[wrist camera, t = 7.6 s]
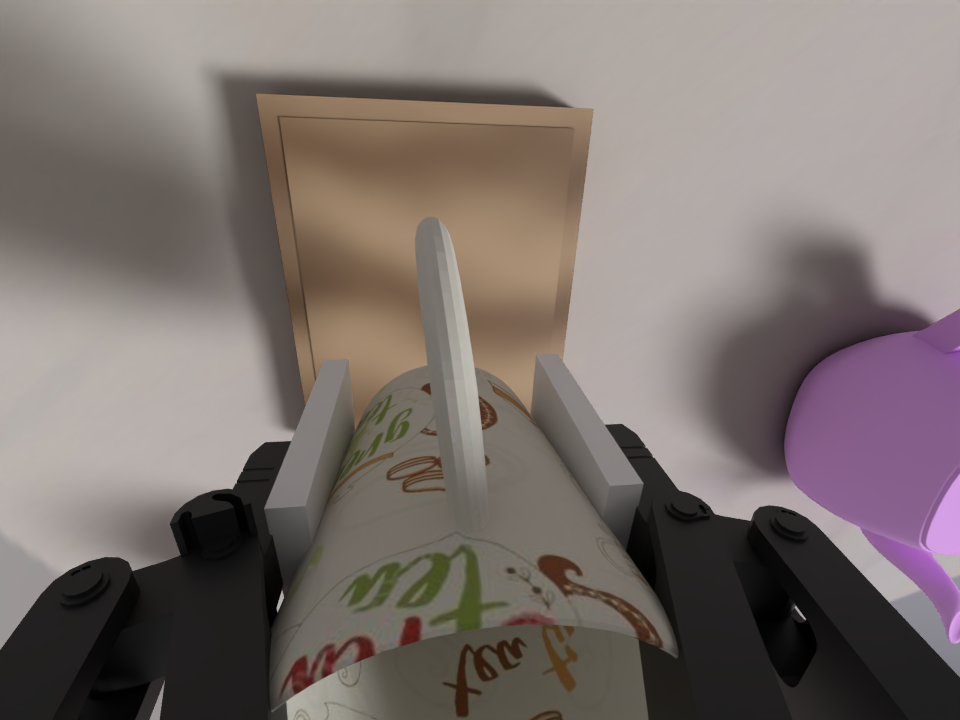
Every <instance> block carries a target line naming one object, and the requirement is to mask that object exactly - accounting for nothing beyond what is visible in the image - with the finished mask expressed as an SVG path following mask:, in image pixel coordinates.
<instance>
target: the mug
mask: <svg viewBox="0 0 960 720" xmlns="http://www.w3.org/2000/svg"><path fill="white" fill-rule="evenodd" d="M415 255H416V268H417V279H418V288H419V297H420V306H421V315H422V324H423V332H424V340H425V348H426V356H427V364H428V365H426V366H422V367H418V368H415V369H412V370H410V371H408V372H405V373H403V374H401V375H400V376H398V377H396V378H394V379H393V380H391V381H390V382H389V383H387V384H386V385H385V386H384V387H383V388H382V389H381V390H379V391H378V393H377V394H376V395H375V396H374V397H373V398H372V400H371V401H370V403H369V404H368V406H367V407H366V409H365V411H364V413H363V415H362V417H361V419H360V422H359V424H358V426H357V428H356V431H355V433H354V435H353V438H352V440H351V443H350V445H349V447H348V450H347V452H346V454H345V457H344V459H343V461H342V464H341V466H340V469H339V471H338V474H337V476H336V479H335V482H334V484H333V487H332V490H331V493H330V495H329V498H328V501H327V504H326V506H325V509H324V512H323V515H322V518H321V521H320V524H319V526H318V529H317V532H316V535H315V538H314V541H313V544H312V546H311V547H310V548H309V549H308V551H307V552H306V554H305V555H304V557H303V558H302V560H301V562H300V563H299V565H298V567H297V569H296V571H295V574H294V576H293V578H292V581H291V583H290V585H289V588H288V590H287V592H286V595H285V597H284V599H283V602H282V604H281V606H280V609H279V611H278V613H277V616H276V618H275V620H274V623H273V625H272V627H271V632H272V637H271V648H270V670H269V693H270V707H271V712H273V711H275V710H276V709H277V708H279V707H280V706H281V705H283V704H284V703H285V702H286V704H287V716H288V720H649V719H648V711H647V704H646V696H645V688H644V680H643V673H642V665H641V657H640V649H639V642H638V639H639V640H641V641H644V642H646V643H649V644H652V645H654V646H656V647H658V648H660V649H662V650H664V651H665V652H667V653H669V654H671V655H672V656H673V657H675V658H677V657H678V646H677V641H676V638H675V635H674V632H673V628H672V626H671V624H670V621H669V619H668V617H667V614H666V612H665V610H664V608H663V606H662V604H661V602H660V600H659V599H658V597H657V595H656V594H655V592H654V591H653V589H652V588H651V586H650V585H649V583H648V582H647V581H646V579H645V578H644V576H643V575H642V573H641V572H640V571H639V569H638V568H637V566H636V565H635V563H634V562H633V561H632V559H631V558H630V556H629V555H628V553H627V552H626V551H625V549H624V548H623V546H622V545H621V543H620V542H619V541H618V539H617V538H616V536H615V535H614V533H613V532H612V531H611V529H610V528H609V526H608V525H607V524H606V522H605V521H604V520H603V519H602V517H601V516H600V514H599V513H598V511H597V510H596V508H595V507H594V505H593V504H592V502H591V501H590V499H589V498H588V496H587V495H586V494H585V492H584V491H583V489H582V488H581V486H580V485H579V483H578V482H577V481H576V479H575V478H574V476H573V475H572V473H571V472H570V471H569V469H568V468H567V466H566V465H565V463H564V462H563V461H562V459H561V458H560V456H559V455H558V453H557V452H556V451H555V449H554V448H553V446H552V445H551V443H550V442H549V441H548V439H547V438H546V436H545V435H544V433H543V432H542V431H541V429H540V428H539V426H538V425H537V423H536V422H535V421H534V419H533V418H532V416H531V415H530V413H529V412H528V411H527V409H526V408H525V406H524V405H523V404H522V402H521V401H520V400H519V398H518V397H517V396H516V394H515V393H514V392H513V391H512V390H511V389H510V388H509V387H508V386H507V385H506V384H505V383H504V382H503V381H501V380H500V379H499V378H497V377H496V376H494V375H492V374H490V373H488V372H487V371H484V370H482V369H479V368H476V367H474V362H473V355H472V348H471V342H470V335H469V329H468V322H467V316H466V310H465V304H464V299H463V293H462V287H461V281H460V276H459V271H458V266H457V261H456V256H455V251H454V247H453V244H452V241H451V237H450V235H449V232H448V230H447V228H446V226H445V224H443V223H442V222H441V221H440V220H439V219H438V218H435V217H431V216H429V217H427V218H424V219H422V221H421V222H420V224H419V225H418V226H417V231H416V236H415Z"/></svg>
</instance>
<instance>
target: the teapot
mask: <svg viewBox="0 0 960 720" xmlns="http://www.w3.org/2000/svg"><path fill="white" fill-rule="evenodd" d="M784 452H785V460H786V464H787V469H788V472H789V475H790V477H791V479H792V480H793V482H794V484H795V485H796V486H797V487H798V488H799V489H800V490H801V491H802V492H803V493H805V494H806V495H807V496H808V497H809V498H810V499H812V500H813V501H815V502H816V503H818V504H819V505H820V506H822V507H823V508H825V509H827V510H828V511H830V512H832V513H833V514H835V515H837V516H839V517H840V518H842V519H844V520H846V521H848V522H850V523H852V524H855V525H857V526H859V527H860V528H861V530H862V533H863V534H864V535H865V537H866V538H867V539H868V541H869V542H870V543H871V544H872V545H873V546H874V547H875V548H876V550H877V551H878V552H879V553H881V554H882V555H883V556H884V557H885V558H886V559H887V560H888V561H890V562H891V563H892V564H893V565H894V566H896V567H897V568H898V569H899V570H901V571H902V572H903V573H904V574H905V575H906V576H908V577H909V578H910V579H911V580H912V581H913V582H914V583H915V584H916V585H917V586H918V587H919V588H920V589H921V590H923V592H924V593H925V594H926V595H927V596H928V597H929V599H930V600H931V601H932V602H933V604H934V605H935V607H936V609H937V610H938V612H939V614H940V616H941V619H942V622H943V625H944V627H945V630H946V634H947V637H948V639H949V641H950V642H951V643H953V644H955V643H958V642H960V591H959V589H958V588H957V586H956V585H955V583H954V582H953V581H952V579H951V578H950V577H949V575H948V574H947V573H946V572H945V570H944V569H943V568H942V567H941V566H940V564H939V563H938V562H937V561H936V559H935V558H934V557H933V555H932V554H931V553H935V554H948V555H959V554H960V309H959V310H957V311H955V312H953V313H952V314H950V315H948V316H946V317H945V318H943V319H941V320H939V321H938V322H936V323H934V324H932V325H931V326H929V327H927V328H925V329H923V330H922V331H912V332H903V333H897V334H891V335H886V336H881V337H876V338H873V339H869V340H866V341H863V342H860V343H857V344H854V345H852V346H849V347H847V348H844V349H842V350H840V351H838V352H836V353H834V354H832V355H830V356H828V357H827V358H825V359H824V360H822V361H821V362H820V363H819V364H817V365H816V366H815V367H814V368H813V369H812V370H811V371H810V372H809V373H808V375H807V376H806V378H805V379H804V381H803V382H802V384H801V386H800V388H799V390H798V392H797V395H796V397H795V400H794V403H793V405H792V408H791V411H790V415H789V418H788V422H787V427H786V433H785V439H784Z"/></svg>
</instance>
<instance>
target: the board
mask: <svg viewBox="0 0 960 720" xmlns="http://www.w3.org/2000/svg"><path fill="white" fill-rule="evenodd" d="M256 99H257V105H258V111H259V118H260V124H261V130H262V137H263V143H264V149H265V156H266V162H267V168H268V175H269V181H270V187H271V194H272V200H273V206H274V213H275V219H276V225H277V232H278V238H279V244H280V251H281V257H282V263H283V270H284V276H285V282H286V289H287V295H288V301H289V308H290V314H291V320H292V327H293V333H294V339H295V346H296V352H297V358H298V365H299V371H300V377H301V384H302V390H303V396H304V403H305V406H306V404H307V401H308V399H309V396H310V394H311V391H312V389H313V386H314V384H315V381H316V379H317V377H318V374H319V372H320V369H321V367H322V364H323V362H324V360H343V359H349V368H350V378H351V388H352V397H353V407H354V417H355V426H356V428H357V426H358V424H359V422H360V419H361V417H362V415H363V413H364V411H365V409H366V407H367V406H368V404H369V403H370V401H371V400H372V398H373V397H374V396H375V395H376V394H377V393H378V391H379V390H381V389H382V388H383V387H384V386H385V385H386V384H387V383H389V382H390V381H391V380H393V379H394V378H396V377H398V376H400V375H401V374H403V373H405V372H408V371H410V370H412V369H415V368H418V367H422V366H426V365H428V364H427V356H426V348H425V340H424V332H423V324H422V315H421V306H420V297H419V288H418V279H417V268H416V255H415V236H416V231H417V226H418V225H419V224H420V222H421V221H422V219H424V218H427V217H429V216H431V217H435V218H438V219H439V220H440V221H441V222H442V223H443V224H445V226H446V228H447V230H448V232H449V235H450V237H451V241H452V244H453V247H454V251H455V256H456V261H457V266H458V271H459V276H460V281H461V287H462V293H463V299H464V304H465V310H466V316H467V322H468V329H469V335H470V342H471V348H472V355H473V362H474V367H476V368H479V369H482V370H484V371H487V372H488V373H490V374H492V375H494V376H496V377H497V378H499V379H500V380H501V381H503V382H504V383H505V384H506V385H507V386H508V387H509V388H510V389H511V390H512V391H513V392H514V393H515V394H516V396H517V397H518V398H519V400H520V401H521V402H522V404H523V405H524V406H525V408H526V409H527V411H528V412H529V413H530V412H531V402H532V391H533V380H534V369H535V359H536V354H558V355H559V357H560V358H561V360H562V361H563V353H564V345H565V337H566V329H567V321H568V313H569V304H570V296H571V288H572V280H573V272H574V264H575V256H576V248H577V240H578V231H579V223H580V215H581V207H582V199H583V191H584V183H585V175H586V167H587V158H588V150H589V142H590V134H591V126H592V118H593V110H594V109H588V108H565V107H543V106H521V105H499V104H477V103H454V102H432V101H410V100H388V99H366V98H344V97H321V96H299V95H277V94H256Z"/></svg>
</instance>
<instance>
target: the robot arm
mask: <svg viewBox="0 0 960 720" xmlns="http://www.w3.org/2000/svg"><path fill="white" fill-rule="evenodd" d="M530 415H531V416H532V418H533V419H534V421H535V422H536V423H537V425H538V426H539V428H540V429H541V431H542V432H543V433H544V435H545V436H546V438H547V439H548V441H549V442H550V443H551V445H552V446H553V448H554V449H555V451H556V452H557V453H558V455H559V456H560V458H561V459H562V461H563V462H564V463H565V465H566V466H567V468H568V469H569V471H570V472H571V473H572V475H573V476H574V478H575V479H576V481H577V482H578V483H579V485H580V486H581V488H582V489H583V491H584V492H585V494H586V495H587V496H588V498H589V499H590V501H591V502H592V504H593V505H594V507H595V508H596V510H597V511H598V513H599V514H600V516H601V517H602V519H603V520H604V521H605V522H606V524H607V525H608V526H609V528H610V529H611V531H612V532H613V533H614V535H615V536H616V538H617V539H618V541H619V542H620V543H621V545H622V546H623V548H624V549H625V551H626V552H627V553H628V555H629V556H630V558H631V559H632V561H633V562H634V563H635V565H636V566H637V568H638V569H639V571H640V572H641V573H642V575H643V576H644V578H645V579H646V581H647V582H648V583H649V585H650V586H651V588H652V589H653V591H654V592H655V594H656V595H657V597H658V599H659V600H660V602H661V604H662V606H663V608H664V610H665V612H666V614H667V617H668V619H669V621H670V624H671V626H672V628H673V632H674V635H675V638H676V641H677V646H678V657H677V658H675V657H673V656H672V655H671V654H669V653H667V652H665V651H664V650H662V649H660V648H658V647H656V646H654V645H652V644H649V643H646V642H644V641H641V640H639V639H638V642H639V649H640V657H641V665H642V673H643V680H644V688H645V696H646V704H647V711H648V719H649V720H960V677H959V676H958V675H957V674H956V673H955V672H954V671H953V670H952V669H951V668H950V667H949V666H948V665H947V663H946V662H945V661H944V660H943V659H942V658H941V657H940V656H939V655H938V654H937V653H936V652H935V651H934V650H933V649H932V648H931V647H930V645H928V643H927V642H926V641H925V640H924V639H923V638H922V637H921V636H920V635H919V634H918V633H917V632H916V631H915V630H914V629H913V627H911V625H910V624H909V623H908V622H907V621H906V620H905V619H904V618H903V617H902V616H901V615H900V614H899V613H898V611H897V610H896V609H895V608H894V607H893V606H892V605H891V604H890V603H889V602H888V601H887V600H886V599H885V598H884V597H883V596H882V595H881V593H880V592H879V591H878V590H877V589H876V588H875V587H874V586H873V585H872V584H871V583H870V582H869V581H868V580H867V579H866V578H865V576H864V575H863V574H862V573H861V572H860V571H859V570H858V569H857V568H856V567H855V566H854V565H853V564H852V563H851V562H850V561H849V560H848V558H847V557H846V556H845V555H844V554H843V553H842V552H841V551H840V550H839V549H838V548H837V547H836V546H835V545H834V544H833V543H832V542H831V540H830V539H829V538H828V537H827V536H826V535H825V534H824V533H823V532H822V531H821V530H820V529H819V528H818V527H817V526H816V525H815V524H814V523H812V522H811V521H810V520H809V519H808V518H806V517H804V516H802V515H800V514H798V513H797V512H795V511H792V510H789V509H786V508H783V507H778V506H764V507H759V508H758V509H757V510H756V511H755V512H754V514H753V517H752V519H751V521H747V520H742V519H736V518H730V517H724V516H720V515H716V514H714V513H713V511H712V510H711V508H710V506H708V505H707V504H706V503H705V502H704V501H702V500H701V499H700V498H698V497H696V496H694V495H692V494H690V493H686V492H682V491H679V490H678V489H677V487H676V486H675V485H674V483H673V482H672V481H671V479H670V478H669V477H668V475H667V474H666V473H665V471H664V470H663V469H662V467H661V466H660V465H659V463H658V462H657V461H656V459H655V458H653V457H652V456H653V455H652V454H651V453H650V451H649V450H648V449H647V448H645V445H644V443H643V442H642V441H641V439H640V438H639V437H638V435H637V434H636V433H634V432H633V431H631V430H630V429H628V428H627V427H626V426H624V425H623V424H611V425H604V423H603V422H602V420H601V419H600V417H599V416H598V414H597V413H596V411H595V409H594V408H593V406H592V405H591V403H590V402H589V400H588V399H587V397H586V396H585V394H584V393H583V391H582V390H581V388H580V387H579V385H578V384H577V382H576V381H575V379H574V378H573V376H572V375H571V373H570V372H569V370H568V369H567V367H566V366H565V364H564V363H563V361H562V360H561V358H560V357H559V355H558V354H536V359H535V369H534V380H533V391H532V402H531V412H530ZM355 431H356V426H355V417H354V407H353V397H352V388H351V378H350V368H349V359H343V360H324V362H323V364H322V367H321V369H320V372H319V374H318V377H317V379H316V381H315V384H314V386H313V389H312V391H311V394H310V396H309V399H308V401H307V404H306V406H305V409H304V411H303V414H302V416H301V419H300V421H299V424H298V426H297V429H296V431H295V434H294V436H293V438H292V441H285V442H265V443H264V444H263V445H261V446H260V447H259V448H258V449H257V450H256V451H254V452H253V453H252V454H251V455H250V457H249V459H248V461H247V462H246V464H245V466H244V468H243V472H241V474H240V476H239V478H238V480H237V484H235V486H234V488H233V490H232V489H223V490H215V491H211V492H208V493H205V494H202V495H200V496H197V497H196V498H194V499H192V500H191V501H189V502H187V503H186V504H184V505H183V506H182V507H181V508H180V509H179V510H178V511H177V512H176V513H175V514H174V516H173V519H172V521H171V523H170V526H171V528H172V531H173V534H174V537H175V540H176V543H177V546H178V548H179V551H180V554H181V555H180V556H178V557H175V558H173V559H170V560H167V561H164V562H161V563H158V564H155V565H151V566H148V567H145V568H142V569H138V570H135V571H132V569H131V567H130V565H129V562H127V561H125V560H123V559H121V558H116V557H104V558H100V559H96V560H92V561H88V562H86V563H84V564H82V565H79V566H77V567H75V568H73V569H71V570H69V571H68V572H66V573H65V574H63V575H62V576H60V577H59V578H57V579H56V580H55V581H53V582H52V583H51V584H50V585H49V587H48V588H47V589H46V590H45V591H44V592H43V593H42V594H41V595H40V596H39V598H38V599H37V601H36V602H35V604H34V605H33V606H32V607H31V609H30V610H29V611H28V613H27V614H26V616H25V617H24V618H23V620H22V621H21V622H20V624H19V625H18V627H17V628H16V629H15V631H14V632H13V633H12V635H11V636H10V637H9V639H8V640H7V642H6V643H5V645H4V646H3V647H2V649H1V650H0V720H149V719H150V717H151V714H152V711H153V709H154V706H155V704H156V701H157V699H158V696H159V693H160V691H161V688H162V686H163V683H164V681H165V685H164V693H163V699H162V707H161V715H160V720H288V716H287V704H286V702H285V703H284V704H283V705H281V706H280V707H279V708H277V709H276V710H275V711H273V712H271V707H270V693H269V670H270V648H271V637H272V632H271V627H272V625H273V623H274V620H275V618H276V616H277V609H276V608H277V604H278V601H279V598H280V594H281V591H282V590H283V594H284V597H285V595H286V592H287V590H288V588H289V585H290V583H291V581H292V578H293V576H294V574H295V571H296V569H297V567H298V565H299V563H300V562H301V560H302V558H303V557H304V555H305V554H306V552H307V551H308V549H309V548H310V547H311V546H312V544H313V541H314V538H315V535H316V532H317V529H318V526H319V524H320V521H321V518H322V515H323V512H324V509H325V506H326V504H327V501H328V498H329V495H330V493H331V490H332V487H333V484H334V482H335V479H336V476H337V474H338V471H339V469H340V466H341V464H342V461H343V459H344V457H345V454H346V452H347V450H348V447H349V445H350V443H351V440H352V438H353V435H354V433H355ZM795 606H797V607H798V609H799V610H800V612H801V613H802V614H803V616H804V617H805V618H806V620H804V619H803V618H802V617H801V616H800V614H799V613H798V612H797V610H796V609H795Z"/></svg>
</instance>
